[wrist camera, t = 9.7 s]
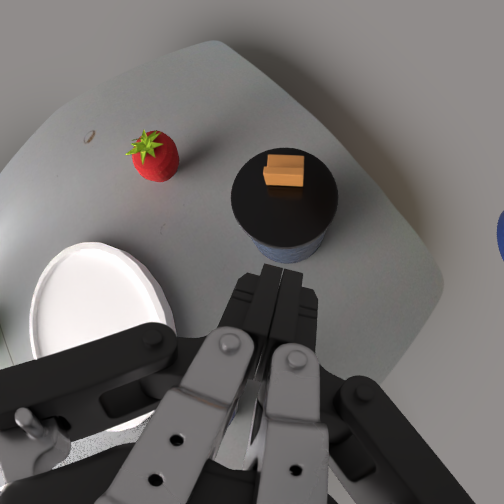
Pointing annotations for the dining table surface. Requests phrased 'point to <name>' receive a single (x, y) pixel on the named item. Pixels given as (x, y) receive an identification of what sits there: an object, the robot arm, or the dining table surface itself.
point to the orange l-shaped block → (284, 170)
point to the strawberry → (155, 156)
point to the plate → (93, 301)
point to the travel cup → (285, 207)
